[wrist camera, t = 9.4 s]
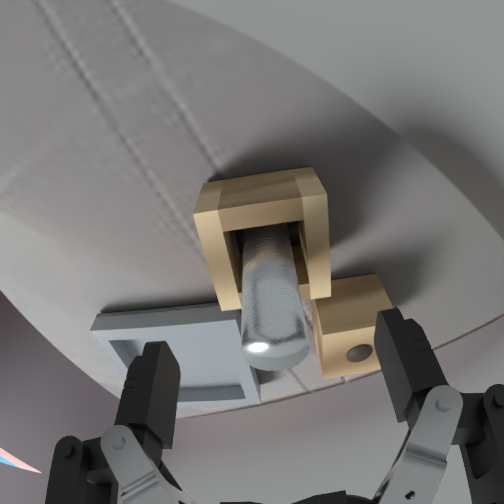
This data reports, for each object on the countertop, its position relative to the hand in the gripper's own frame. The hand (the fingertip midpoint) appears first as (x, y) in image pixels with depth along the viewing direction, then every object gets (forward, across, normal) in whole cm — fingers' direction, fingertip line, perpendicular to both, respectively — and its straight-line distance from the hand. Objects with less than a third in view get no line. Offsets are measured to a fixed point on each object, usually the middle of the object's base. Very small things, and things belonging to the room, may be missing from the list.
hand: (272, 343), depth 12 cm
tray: (+10, +9, +12) cm, 18 cm away
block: (+10, -5, +8) cm, 14 cm away
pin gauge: (+10, 0, +1) cm, 10 cm away
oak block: (+10, 0, 0) cm, 10 cm away
